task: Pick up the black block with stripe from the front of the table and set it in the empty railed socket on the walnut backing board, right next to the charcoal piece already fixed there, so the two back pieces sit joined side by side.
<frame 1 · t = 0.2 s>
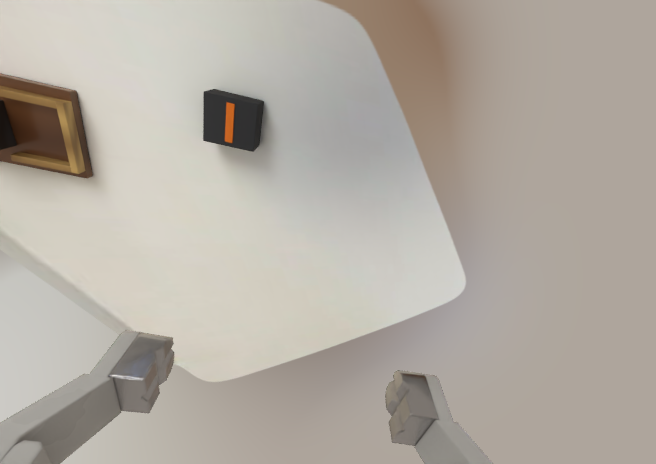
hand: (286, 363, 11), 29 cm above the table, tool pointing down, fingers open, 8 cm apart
backing board: (26, 123, 34), on the table
black block with stripe: (237, 118, 33), on the table
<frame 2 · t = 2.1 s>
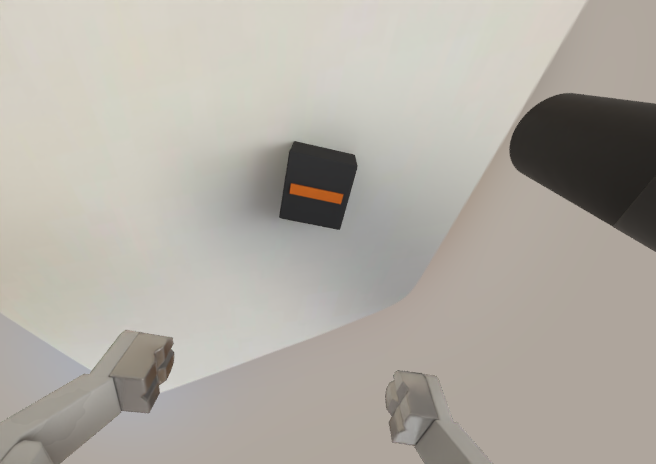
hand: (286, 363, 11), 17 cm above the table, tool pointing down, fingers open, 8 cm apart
black block with stripe: (318, 179, 25), on the table
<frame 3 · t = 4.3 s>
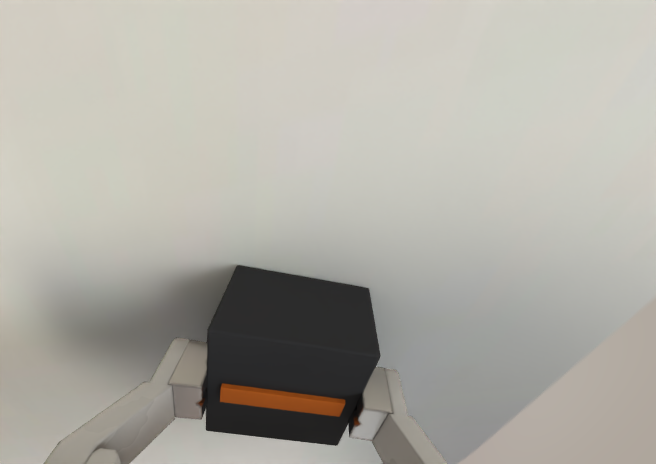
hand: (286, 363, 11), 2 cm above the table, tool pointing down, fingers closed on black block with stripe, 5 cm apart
black block with stripe: (293, 326, 12), on the table, touching gripper
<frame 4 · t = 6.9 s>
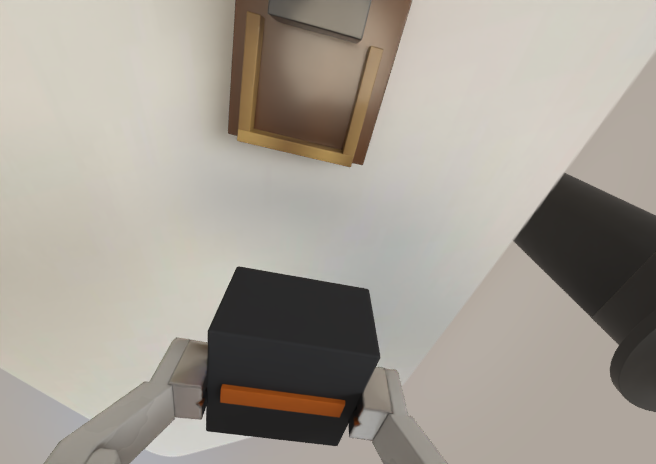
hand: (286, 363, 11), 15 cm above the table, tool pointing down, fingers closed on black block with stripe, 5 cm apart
backing board: (316, 47, 19), on the table
black block with stripe: (293, 327, 12), point 14 cm above the table, touching gripper
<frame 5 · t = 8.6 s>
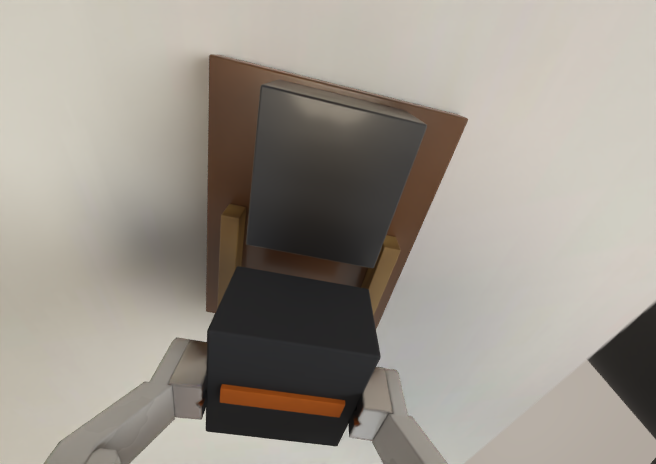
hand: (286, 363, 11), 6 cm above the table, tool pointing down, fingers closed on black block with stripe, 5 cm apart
backing board: (313, 224, 15), on the table
black block with stripe: (293, 327, 12), point 5 cm above the table, touching gripper
when the fingers open (3 cm above the table, at t = 9.8 s): black block with stripe stays where it is, resting on backing board.
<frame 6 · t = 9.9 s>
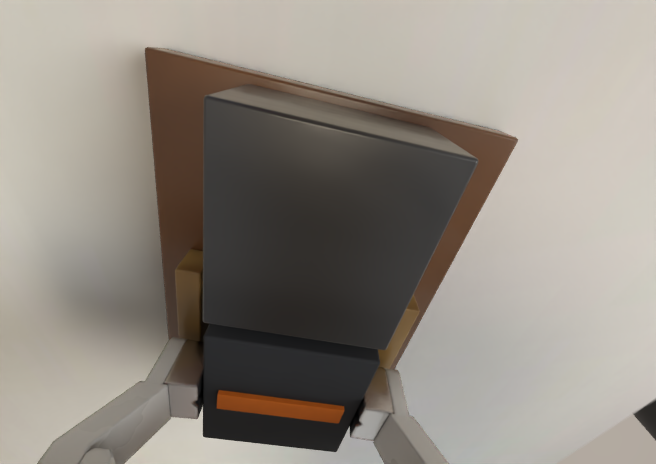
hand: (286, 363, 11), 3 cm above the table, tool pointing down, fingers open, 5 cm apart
backing board: (303, 268, 12), on the table
black block with stripe: (291, 330, 12), point 1 cm above the table, touching backing board
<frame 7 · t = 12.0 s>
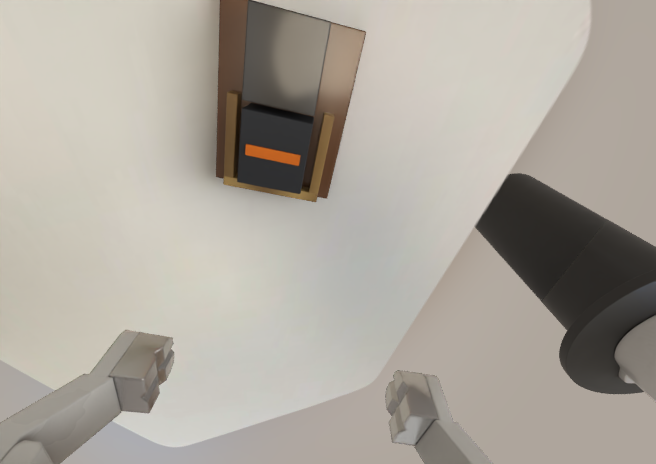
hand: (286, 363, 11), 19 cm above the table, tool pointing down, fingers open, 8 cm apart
backing board: (283, 110, 24), on the table
black block with stripe: (278, 144, 24), point 1 cm above the table, touching backing board
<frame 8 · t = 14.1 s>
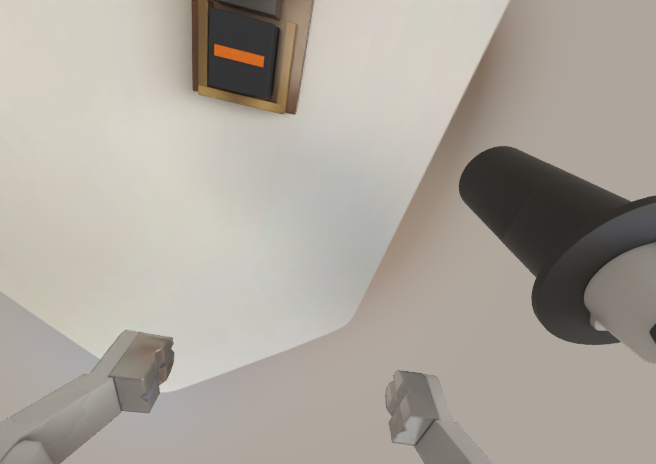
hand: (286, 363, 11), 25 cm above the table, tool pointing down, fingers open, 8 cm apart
backing board: (253, 24, 26), on the table
black block with stripe: (248, 56, 26), point 1 cm above the table, touching backing board
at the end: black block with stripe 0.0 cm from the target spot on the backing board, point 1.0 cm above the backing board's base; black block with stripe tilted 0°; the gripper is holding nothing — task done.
